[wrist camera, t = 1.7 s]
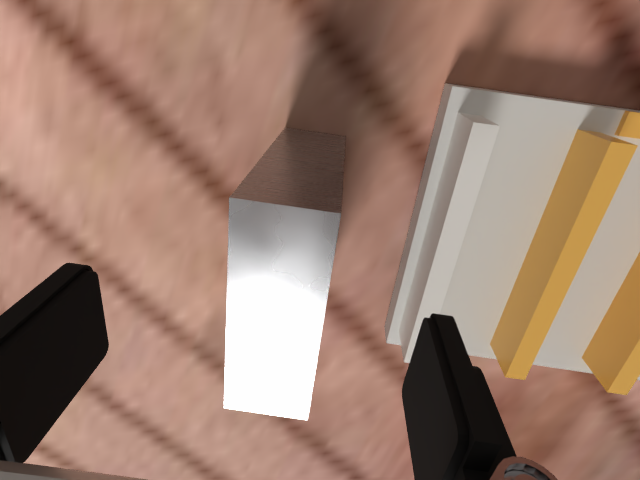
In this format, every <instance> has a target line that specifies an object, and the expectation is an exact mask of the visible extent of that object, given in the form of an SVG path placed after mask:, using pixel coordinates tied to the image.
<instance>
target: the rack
mask: <svg viewBox="0 0 640 480" xmlns="http://www.w3.org/2000/svg"><path fill="white" fill-rule="evenodd" d="M433 313H434V314H442V315H449V316H453V317H454V319H455V322H456V324H457V327H458V330H459V332H460V335H461V337H462V340H463V343H464V345H465V348H466V351H467V353H468V355H471V356H478V357H485V358H492V359H497V360H498V363H499V365H500V367H501V369H502V371H503V373H504V376H505V377H508V378H515V379H522V380H525V378H526V376H527V374H528V372H529V370H530V368H531V366H532V365H539V366H546V367H553V368H560V369H566V370H573V371H580V372H587V373H593V374H594V375H595V376H596V378H597V379H598V380H599V382H600V383H601V385H602V386H603V387H604V389H605V390H606V391H607V392H610V393H616V394H623V395H627V394H628V392H629V391H630V389H631V388H632V386H633V385H634V383H635V382H636V380H640V111H639V110H632V109H625V108H618V107H611V106H603V105H596V104H589V103H582V102H575V101H568V100H561V99H554V98H547V97H540V96H533V95H526V94H519V93H511V92H504V91H497V90H490V89H483V88H476V87H469V86H462V85H455V84H448V83H445V85H444V89H443V93H442V97H441V101H440V105H439V109H438V113H437V117H436V121H435V125H434V129H433V133H432V137H431V141H430V145H429V149H428V153H427V158H426V162H425V166H424V170H423V174H422V178H421V182H420V186H419V190H418V194H417V198H416V202H415V206H414V210H413V214H412V218H411V222H410V226H409V230H408V234H407V238H406V242H405V246H404V250H403V254H402V258H401V262H400V266H399V270H398V274H397V278H396V282H395V286H394V290H393V294H392V298H391V302H390V306H389V310H388V314H387V318H386V322H385V326H384V327H385V336H386V343H390V344H396V345H401V348H402V354H403V360H404V362H406V363H410V360H411V357H412V354H413V350H414V347H415V344H416V341H417V337H418V334H419V331H420V328H421V324H422V321H423V319H424V318H425V317H426V318H430V316H431V314H433Z"/></svg>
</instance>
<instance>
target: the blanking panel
mask: <svg viewBox="0 0 640 480" xmlns="http://www.w3.org/2000/svg"><path fill="white" fill-rule="evenodd" d="M345 139H346V136H340V135H333V134H326V133H319V132H312V131H305V130H298V129H291V128H284V130H283V131H282V132H281V133H280V135H279V136H278V137H277V138H276V140H275V141H274V142H273V143H272V145H271V146H270V147H269V149H268V150H267V151H266V152H265V154H264V155H263V156H262V157H261V159H260V160H259V161H258V162H257V164H256V165H255V166H254V167H253V169H252V170H251V171H250V172H249V174H248V175H247V176H246V177H245V179H244V180H243V181H242V182H241V184H240V185H239V186H238V187H237V189H236V190H235V191H234V192H233V194H232V195H231V196H230V197H229V231H228V270H227V310H226V349H225V388H224V408H227V409H234V410H241V411H248V412H255V413H261V414H268V415H275V416H282V417H288V418H295V419H302V420H308V415H309V408H310V402H311V396H312V390H313V384H314V378H315V371H316V365H317V359H318V353H319V347H320V340H321V334H322V328H323V322H324V316H325V310H326V303H327V297H328V291H329V285H330V279H331V273H332V266H333V260H334V254H335V248H336V242H337V235H338V229H339V223H340V217H341V206H342V189H343V172H344V156H345Z"/></svg>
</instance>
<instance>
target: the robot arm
mask: <svg viewBox="0 0 640 480" xmlns="http://www.w3.org/2000/svg"><path fill="white" fill-rule="evenodd" d="M108 346H109V344H108V337H107V330H106V324H105V317H104V311H103V305H102V298H101V292H100V285H99V279H98V274H97V273H96V272H94V271H93V270H92V268H91V267H90V266H88V265H81V264H74V263H66V264H64V265H63V266H61V267H60V268H59V269H58V270H56V271H55V272H54V273H53V274H52V275H50V276H49V277H48V278H47V279H45V280H44V281H43V282H42V283H40V284H39V285H38V286H37V287H35V288H34V289H33V290H32V291H30V292H29V293H28V294H27V295H25V296H24V297H23V298H22V299H20V300H19V301H18V302H17V303H15V304H14V305H13V306H12V307H10V308H9V309H8V310H7V311H5V312H4V313H3V314H2V315H1V316H0V480H146V479H139V478H132V477H124V476H117V475H109V474H102V473H94V472H86V471H79V470H71V469H64V468H56V467H48V466H41V465H33V464H26V463H23V462H25V461H26V460H27V458H28V457H29V456H30V455H31V453H32V452H33V451H34V449H35V448H36V447H37V445H38V444H39V443H40V441H41V440H42V439H43V438H44V436H45V435H46V434H47V432H48V431H49V430H50V428H51V427H52V426H53V424H54V423H55V422H56V420H57V419H58V418H59V416H60V415H61V414H62V412H63V411H64V410H65V408H66V407H67V406H68V405H69V403H70V402H71V401H72V399H73V398H74V397H75V395H76V394H77V393H78V391H79V390H80V389H81V387H82V386H83V385H84V383H85V382H86V381H87V379H88V378H89V377H90V375H91V374H92V373H93V372H94V370H95V369H96V368H97V366H98V365H99V364H100V362H101V361H102V360H103V358H104V357H105V355H106V353H107V351H108ZM402 399H403V406H404V412H405V419H406V425H407V432H408V438H409V445H410V451H411V458H412V464H413V471H414V478H415V480H557V478H556V477H555V476H554V475H553V474H552V473H550V472H549V471H548V470H547V469H546V468H544V467H543V466H541V465H540V464H538V463H536V462H534V461H533V460H529V459H526V458H523V457H517V456H516V454H515V451H514V449H513V446H512V444H511V442H510V439H509V437H508V434H507V432H506V429H505V427H504V424H503V422H502V419H501V417H500V414H499V412H498V409H497V407H496V404H495V402H494V399H493V397H492V395H491V392H490V390H489V387H488V385H487V382H486V380H485V377H484V375H483V373H482V371H481V369H480V368H478V367H475V366H472V364H471V361H470V358H469V356H468V353H467V351H466V348H465V345H464V343H463V340H462V337H461V335H460V332H459V330H458V327H457V324H456V322H455V319H454V317H453V316H449V315H442V314H434V313H433V314H431V316H430V318H426V317H425V318H424V319H423V321H422V324H421V328H420V331H419V334H418V337H417V341H416V344H415V347H414V350H413V354H412V357H411V360H410V363H409V367H408V370H407V373H406V376H405V380H404V383H403V388H402Z"/></svg>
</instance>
